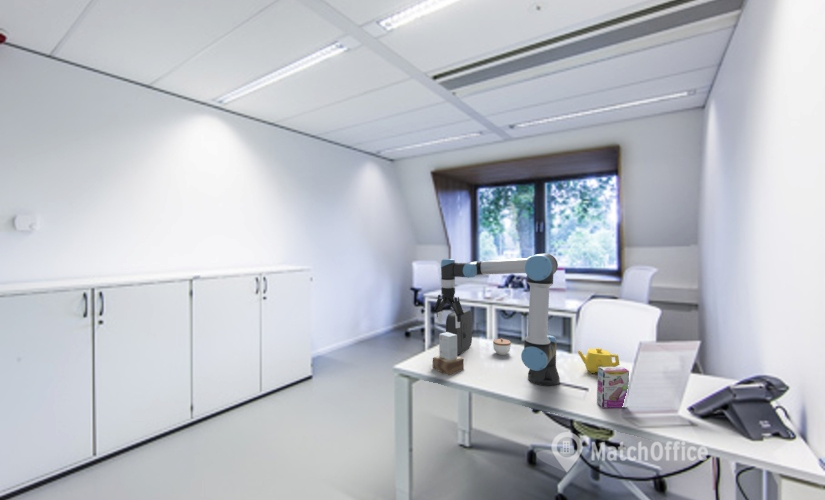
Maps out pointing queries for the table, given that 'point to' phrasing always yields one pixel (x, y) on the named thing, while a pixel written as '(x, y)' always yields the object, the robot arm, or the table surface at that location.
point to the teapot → (598, 359)
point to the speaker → (461, 330)
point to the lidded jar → (501, 346)
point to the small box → (448, 346)
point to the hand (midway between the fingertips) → (448, 325)
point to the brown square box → (448, 365)
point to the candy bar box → (612, 386)
